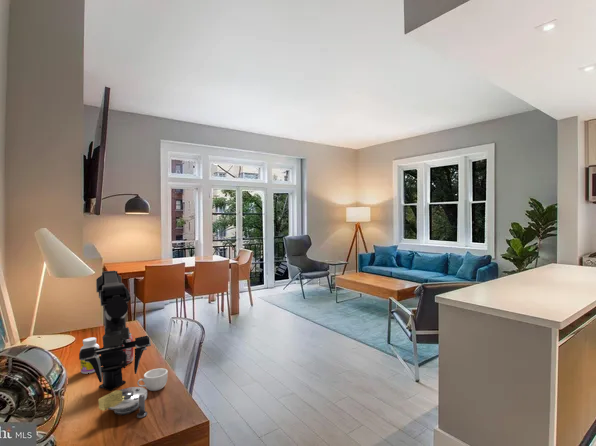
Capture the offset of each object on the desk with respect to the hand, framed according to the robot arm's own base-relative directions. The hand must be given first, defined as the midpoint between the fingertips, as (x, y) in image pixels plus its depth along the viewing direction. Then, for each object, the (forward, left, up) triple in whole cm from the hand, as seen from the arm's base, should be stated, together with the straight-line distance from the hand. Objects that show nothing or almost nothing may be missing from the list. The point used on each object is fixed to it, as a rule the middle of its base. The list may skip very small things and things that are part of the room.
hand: (118, 377), depth 100 cm
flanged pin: (+3, +6, -13) cm, 15 cm away
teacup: (-8, +19, -14) cm, 25 cm away
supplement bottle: (-44, +20, -14) cm, 50 cm away
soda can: (-38, +31, -14) cm, 51 cm away
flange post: (-5, +6, -13) cm, 16 cm away
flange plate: (-5, +5, -11) cm, 13 cm away
